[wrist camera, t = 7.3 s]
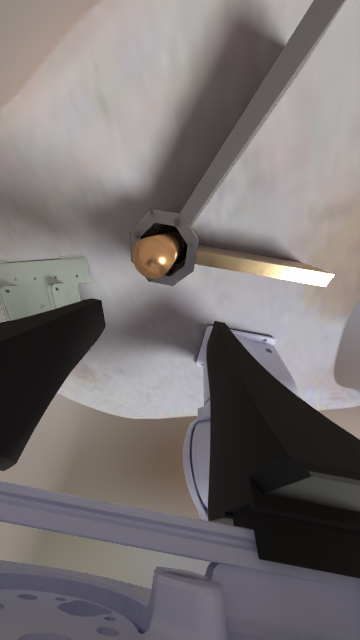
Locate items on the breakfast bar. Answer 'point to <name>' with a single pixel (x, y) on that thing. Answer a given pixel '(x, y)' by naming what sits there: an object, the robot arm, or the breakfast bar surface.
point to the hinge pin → (157, 254)
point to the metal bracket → (41, 285)
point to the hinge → (242, 134)
